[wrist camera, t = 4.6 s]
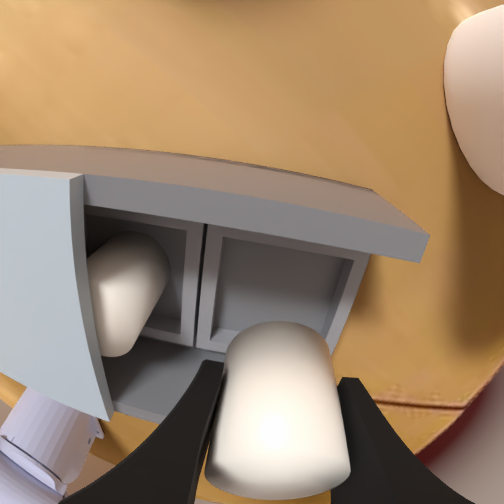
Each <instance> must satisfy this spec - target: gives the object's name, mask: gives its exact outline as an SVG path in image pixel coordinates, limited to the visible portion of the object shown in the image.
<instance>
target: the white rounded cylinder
mask: <svg viewBox="0 0 504 504" xmlns="http://www.w3.org/2000/svg"><path fill="white" fill-rule="evenodd" d="M350 472H351V470H350V462H349V455H348V449H347V442H346V436H345V430H344V424H343V418H342V412H341V407H340V401H339V396H338V390H337V385H336V380H335V375H334V370H333V364H332V360H331V355H330V350H329V347H328V344H327V343H326V341H325V340H324V338H323V337H322V336H321V335H320V334H319V333H318V332H316V331H315V330H313V329H311V328H309V327H307V326H305V325H302V324H299V323H295V322H288V321H270V322H264V323H260V324H257V325H254V326H251V327H249V328H247V329H245V330H243V331H242V332H240V333H239V334H238V335H237V336H235V337H234V338H233V340H232V341H231V342H230V344H229V346H228V348H227V351H226V355H225V360H224V369H223V375H222V381H221V386H220V392H219V397H218V402H217V406H216V411H215V415H214V421H213V426H212V432H211V438H210V443H209V449H208V454H207V460H206V466H205V477H206V479H207V480H208V481H209V482H210V483H211V484H212V485H214V486H215V487H217V488H219V489H220V490H223V491H225V492H228V493H231V494H234V495H237V496H242V497H246V498H253V499H262V500H288V499H297V498H303V497H308V496H313V495H317V494H320V493H323V492H326V491H328V490H330V489H333V488H335V487H336V486H338V485H340V484H341V483H343V482H344V481H345V480H346V479H347V478H348V476H349V475H350Z"/></svg>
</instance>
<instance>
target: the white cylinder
mask: <svg viewBox="0 0 504 504" xmlns="http://www.w3.org/2000/svg"><path fill="white" fill-rule="evenodd" d="M444 89H445V97H446V105H447V109H448V113H449V117H450V121H451V125H452V129H453V131H454V134H455V136H456V139H457V141H458V144H459V147H460V149H461V151H462V152H463V154H464V156H465V158H466V160H467V162H468V163H469V165H470V167H471V168H472V169H473V171H474V172H475V173H476V174H477V176H478V177H479V178H480V180H482V181H483V182H484V183H485V184H486V185H488V186H489V187H490V188H491V189H492V190H494V191H496V192H498V193H500V194H502V195H504V5H500V6H497V7H494V8H491V9H489V10H486V11H483V12H480V13H478V14H476V15H474V16H471V17H469V18H467V19H465V20H463V21H462V22H461V23H460V24H459V25H458V26H457V28H456V29H455V30H454V31H453V33H452V36H451V38H450V40H449V42H448V44H447V49H446V55H445V60H444Z"/></svg>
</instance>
